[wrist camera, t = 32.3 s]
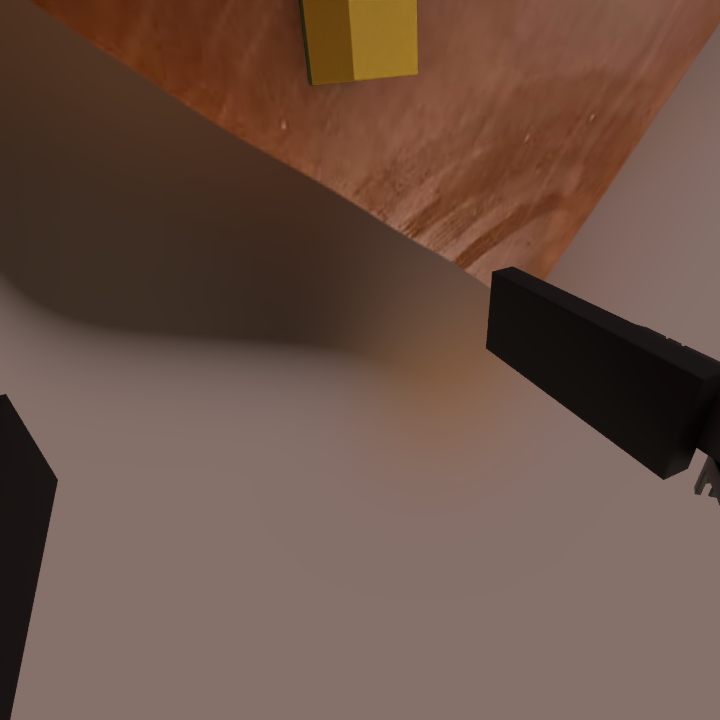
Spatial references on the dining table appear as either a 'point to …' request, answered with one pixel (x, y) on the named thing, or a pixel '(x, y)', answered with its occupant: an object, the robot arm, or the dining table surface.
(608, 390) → the robot arm
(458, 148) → the dining table surface
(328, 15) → the sponge
